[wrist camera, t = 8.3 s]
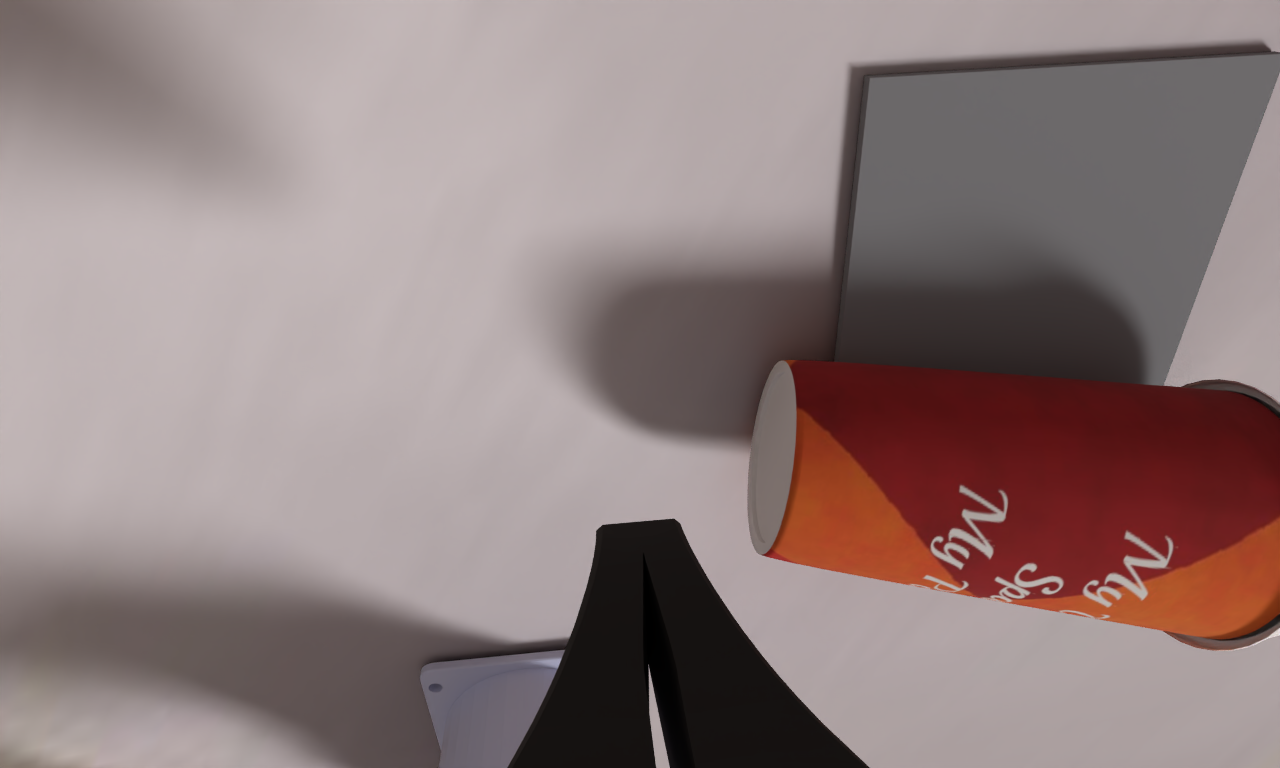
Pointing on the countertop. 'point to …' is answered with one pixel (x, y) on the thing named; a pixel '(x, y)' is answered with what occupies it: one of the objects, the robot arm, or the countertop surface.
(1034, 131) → the mat
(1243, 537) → the paper cup
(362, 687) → the countertop surface
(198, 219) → the countertop surface
